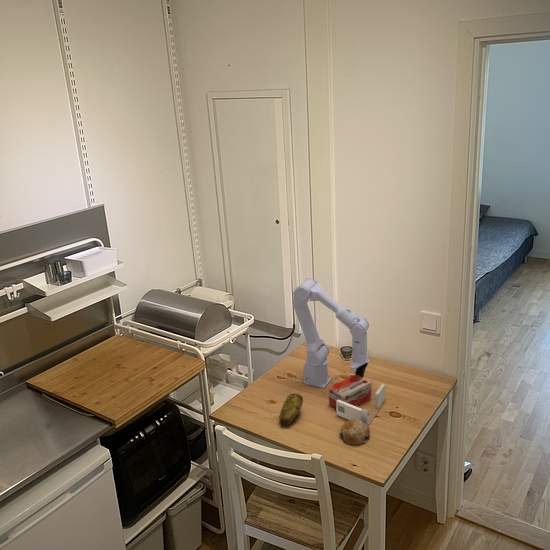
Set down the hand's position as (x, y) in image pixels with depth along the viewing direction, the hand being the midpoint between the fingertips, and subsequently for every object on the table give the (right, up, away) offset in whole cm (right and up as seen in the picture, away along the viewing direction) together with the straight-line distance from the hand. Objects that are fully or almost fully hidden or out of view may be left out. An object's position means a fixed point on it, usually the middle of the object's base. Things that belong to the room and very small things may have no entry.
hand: (359, 379), depth 230 cm
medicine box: (-4, -8, -6) cm, 11 cm away
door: (-6, -12, -17) cm, 21 cm away
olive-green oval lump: (-28, -12, -13) cm, 33 cm away
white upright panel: (+3, -10, -14) cm, 17 cm away
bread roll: (-6, -16, -26) cm, 31 cm away
